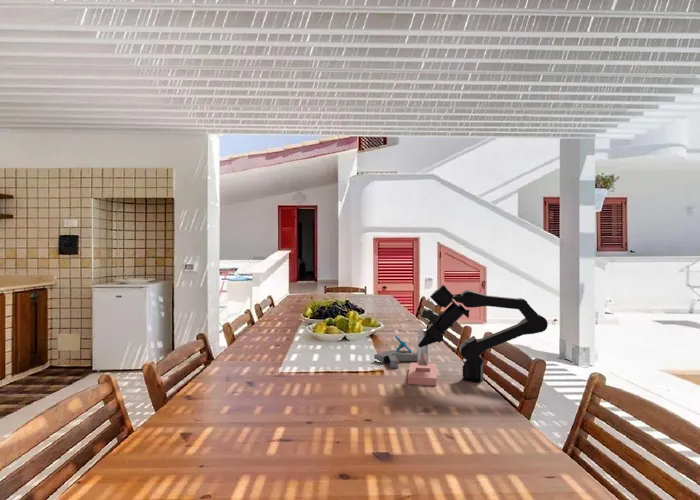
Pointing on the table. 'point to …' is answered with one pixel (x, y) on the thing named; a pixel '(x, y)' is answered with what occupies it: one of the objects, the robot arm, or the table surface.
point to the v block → (395, 357)
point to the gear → (402, 345)
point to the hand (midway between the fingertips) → (419, 345)
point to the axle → (422, 349)
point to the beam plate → (422, 374)
